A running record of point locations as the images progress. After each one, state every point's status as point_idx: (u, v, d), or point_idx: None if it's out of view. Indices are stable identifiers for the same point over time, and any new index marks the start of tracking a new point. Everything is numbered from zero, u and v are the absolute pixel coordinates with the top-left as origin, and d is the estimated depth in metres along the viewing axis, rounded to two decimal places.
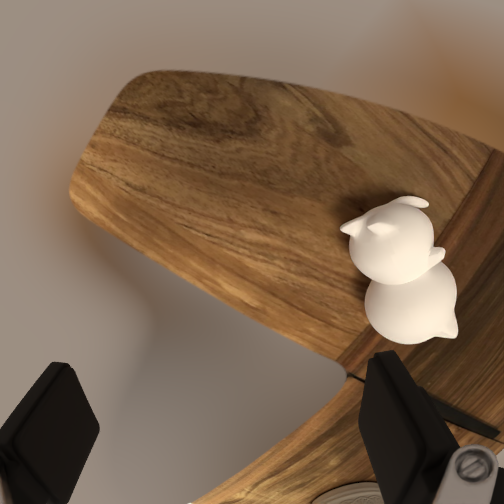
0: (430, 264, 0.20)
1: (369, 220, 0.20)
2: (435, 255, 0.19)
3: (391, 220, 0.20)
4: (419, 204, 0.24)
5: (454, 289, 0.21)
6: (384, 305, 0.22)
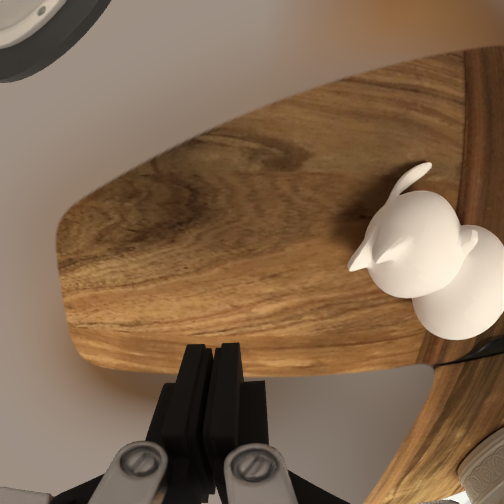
0: (466, 252, 0.15)
1: (374, 251, 0.15)
2: (468, 243, 0.14)
3: (399, 235, 0.15)
4: (421, 173, 0.19)
5: None
6: (436, 317, 0.17)
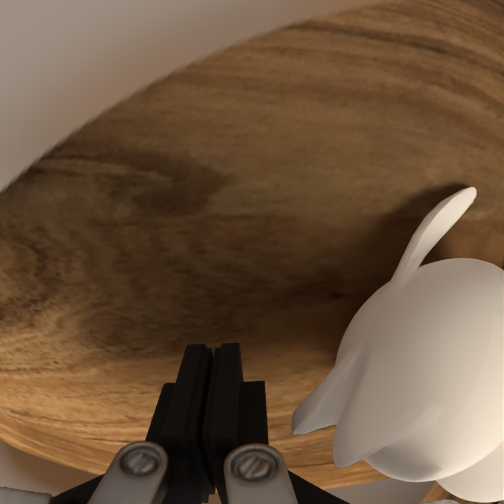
0: None
1: (340, 436, 0.06)
2: None
3: (409, 401, 0.05)
4: (461, 211, 0.09)
5: None
6: (453, 483, 0.07)
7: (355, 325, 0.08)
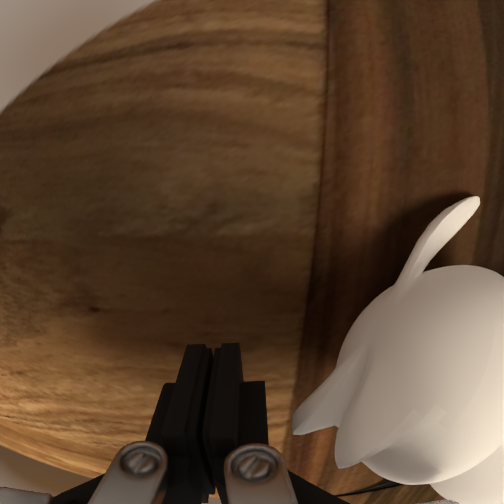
0: None
1: (342, 436, 0.06)
2: None
3: (411, 404, 0.05)
4: (465, 218, 0.09)
5: None
6: (448, 488, 0.07)
7: (358, 328, 0.08)
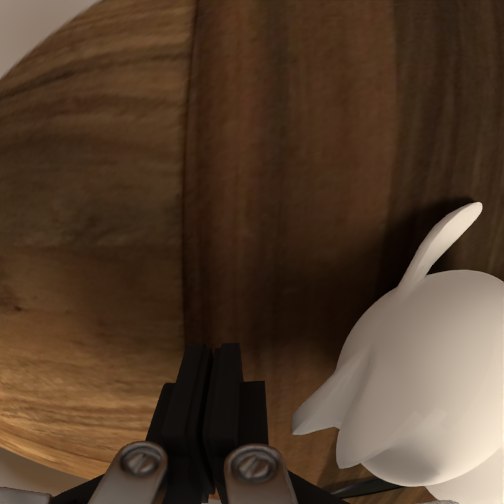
0: None
1: (344, 437, 0.06)
2: None
3: (413, 405, 0.05)
4: (467, 224, 0.09)
5: None
6: (444, 491, 0.07)
7: (360, 329, 0.08)
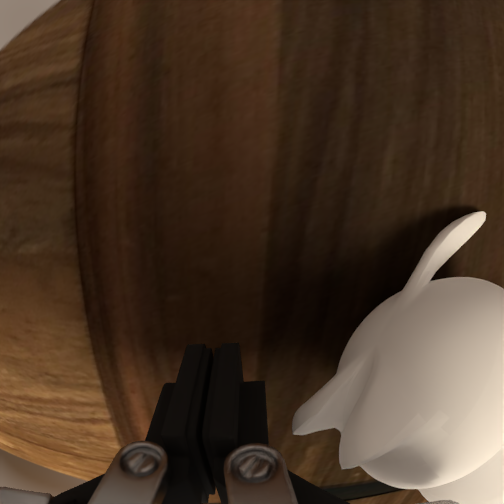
0: None
1: (347, 437, 0.06)
2: None
3: (416, 408, 0.05)
4: (471, 232, 0.09)
5: None
6: (439, 495, 0.07)
7: (364, 332, 0.08)
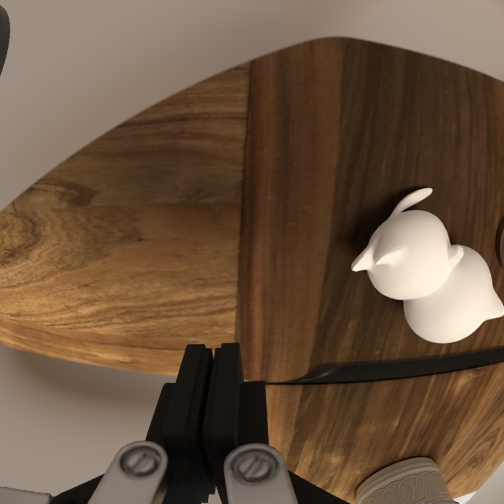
0: (452, 265, 0.18)
1: (375, 254, 0.19)
2: (454, 256, 0.17)
3: (397, 244, 0.18)
4: (422, 196, 0.22)
5: (486, 273, 0.18)
6: (422, 319, 0.20)
7: (376, 231, 0.21)
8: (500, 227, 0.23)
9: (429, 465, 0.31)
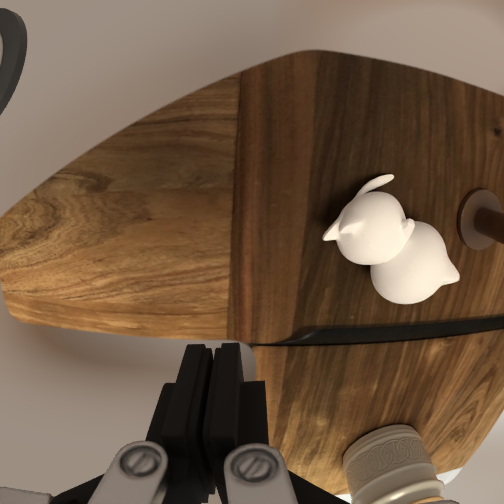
0: (406, 235, 0.24)
1: (340, 225, 0.24)
2: (406, 227, 0.23)
3: (357, 217, 0.24)
4: (384, 181, 0.28)
5: (438, 243, 0.24)
6: (384, 281, 0.26)
7: (343, 209, 0.27)
8: (460, 208, 0.29)
9: (410, 432, 0.37)
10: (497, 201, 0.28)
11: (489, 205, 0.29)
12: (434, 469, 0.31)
